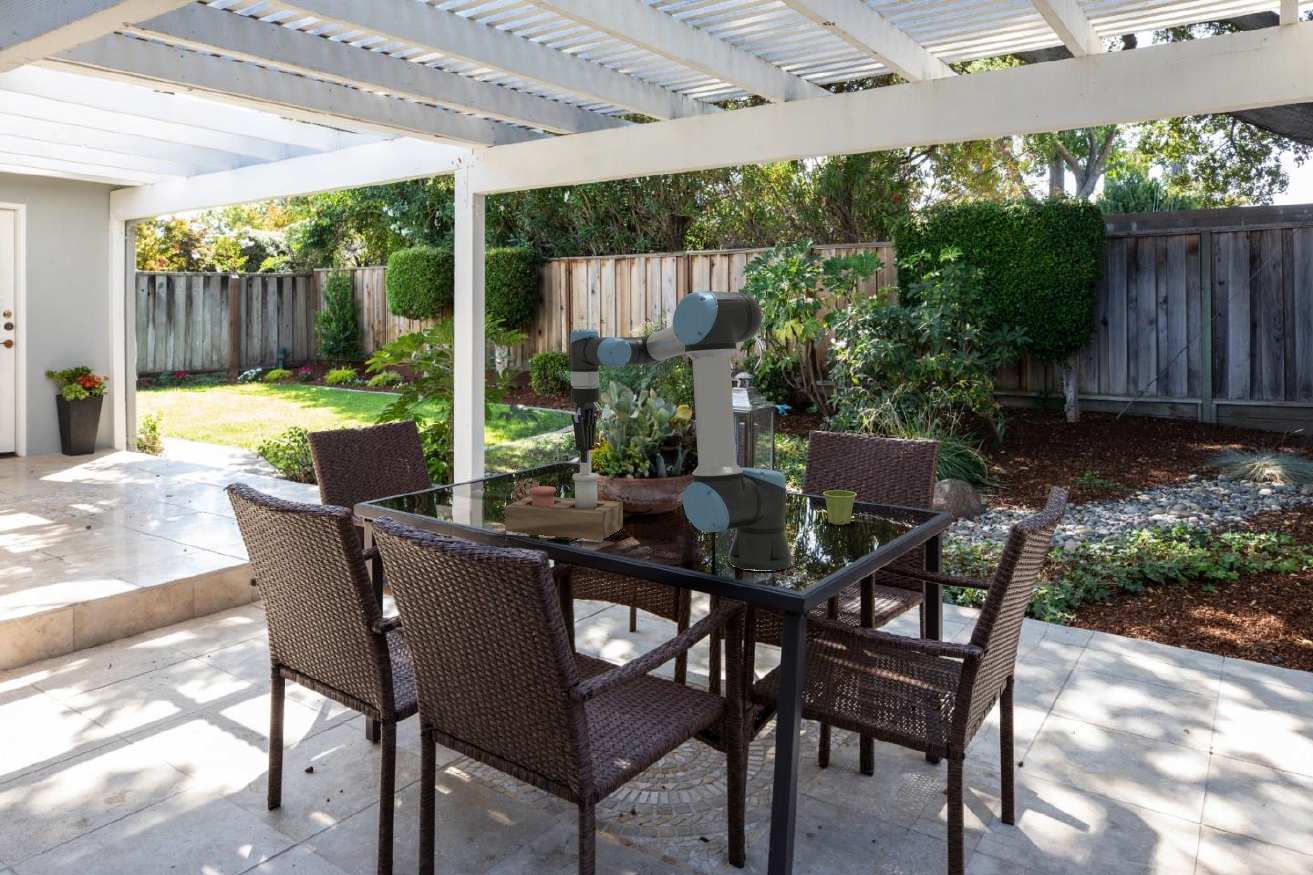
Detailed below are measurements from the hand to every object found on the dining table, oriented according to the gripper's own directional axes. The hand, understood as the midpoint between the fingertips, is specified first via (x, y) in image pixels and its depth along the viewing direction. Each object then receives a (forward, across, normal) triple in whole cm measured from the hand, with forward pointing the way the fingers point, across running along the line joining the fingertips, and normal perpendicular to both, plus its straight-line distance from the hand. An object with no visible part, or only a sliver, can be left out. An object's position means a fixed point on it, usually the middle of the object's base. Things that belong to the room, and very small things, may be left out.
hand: (585, 473), depth 250 cm
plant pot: (+17, -36, +64) cm, 75 cm away
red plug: (+16, 0, -13) cm, 20 cm away
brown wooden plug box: (+17, 0, -6) cm, 18 cm away
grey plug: (+11, 0, 0) cm, 11 cm away
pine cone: (+17, -19, -27) cm, 37 cm away
